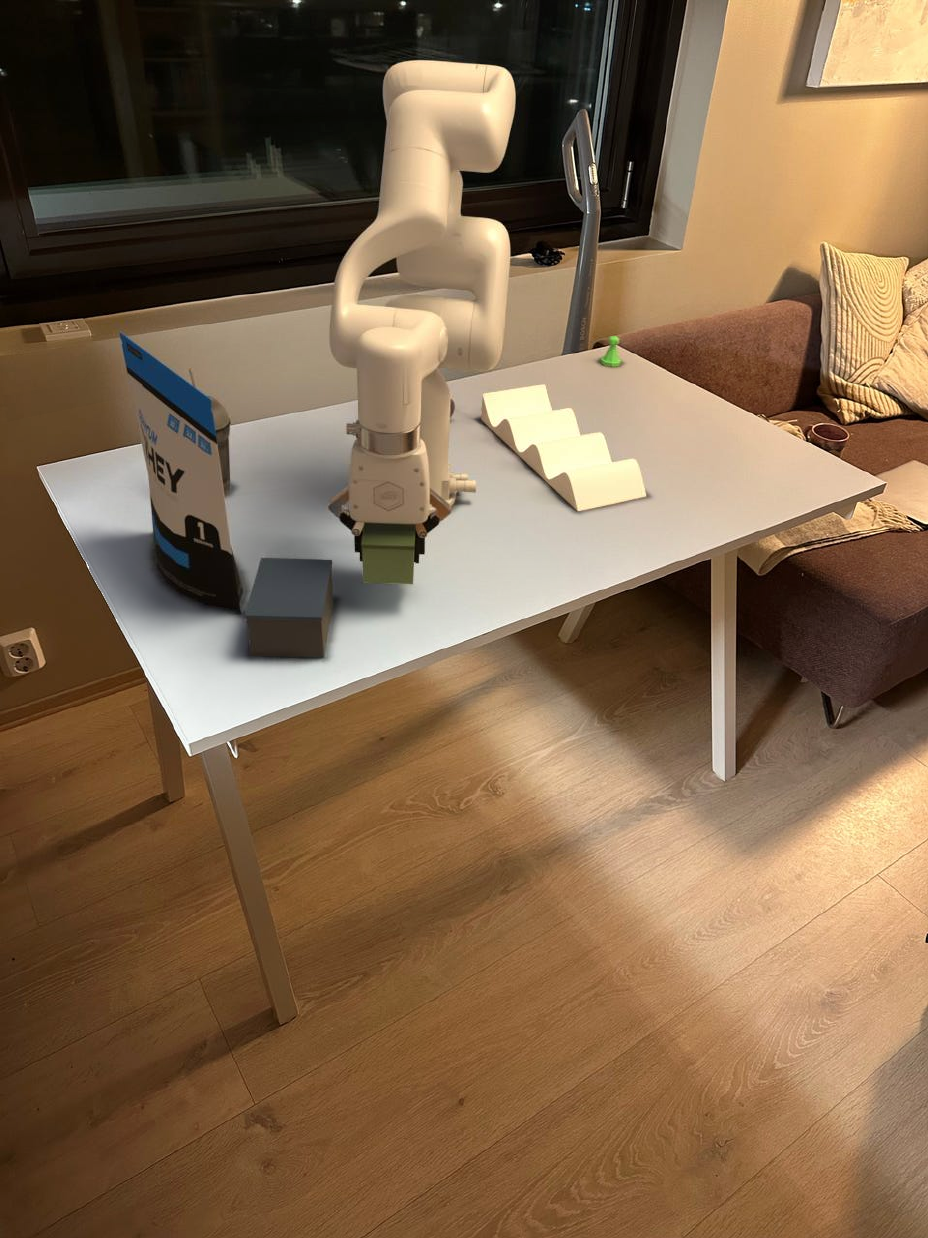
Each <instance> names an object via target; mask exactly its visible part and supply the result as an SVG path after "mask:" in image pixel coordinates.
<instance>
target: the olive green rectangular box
mask: <svg viewBox="0 0 928 1238" xmlns="http://www.w3.org/2000/svg"><path fill="white" fill-rule="evenodd" d="M361 548H362V562H361V563H362V583H363V584H389V585H390V584H391V585H393V584H394V585H414V575H415V574H414V572H415V562H414V548H415V528H414V526H413V524H384V523H366V524H365V526H364V528H363V535H362V542H361Z"/></svg>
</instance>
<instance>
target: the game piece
mask: <svg viewBox="0 0 928 1238" xmlns="http://www.w3.org/2000/svg"><path fill="white" fill-rule="evenodd" d="M619 343H620V338H619V337H618V336H616V335H611V336H609V338H608V344H609V347H608V349H607V351H606V353H605V354H604V355H603V356H602V357H601V358H600V363H601V364H602V365H603V366H606V367H611V368H614V367H619V366H620V365H621V363H622V359H620V358H619V353H618V350H617V345H619Z"/></svg>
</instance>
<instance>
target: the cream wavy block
mask: <svg viewBox="0 0 928 1238" xmlns="http://www.w3.org/2000/svg"><path fill="white" fill-rule="evenodd" d="M481 401H482V402H481V403H482V404H481V418H480V420H481V421H482V422H483V423H484V424H485V425H486V426H487V427H488V428H489V429H490V430H491V431H492V432H493V433H494V434H496V436H497V437H499V439H500V440H502V441H503V442H504V443H505V444H506V445H507V446H508V447H509V448H510V449H511V450H512V451H513V452H514V453H515V454H517V456H518V457H520V458H521V459H522V460H523V462H525V463H526V464H527V465H528V466H529V467H530V468H531V469H532V470H533V471H534V472H536V474H538V475H539V476H540V477H541V478H542V479H543V480H544V481H545V482H546V483H547V484H548V485H549V486H550V487H551V488H552V489H554V490H555V491H556V493H558V495H560V496H561V497H562V498H563V499H564V500H565V501H566V502H567V503H568V504H569V505H570V506H572V507H573V509H574V510H576V511H577V512H583V511H588V510H592V509H597V508H600V507H605V506H610V505H614V504H619V503H623V502H627V501H628V502H629V501H633V500H637V499H643V498H646V497H647V493H646V488H645V483H644V480H643V476H642V472H641V469H640V466H639V463H638V461H637V460H636V459H635V458H628V459H627V458H626V459H623V460H622V459H621V460H617V461H612V458H611V455H610V451H609V447H608V444H607V441H606V438H605V435H604V433H602V432H601V431H596V432H592V433H586V434H581V433H580V429H579V425H578V422H577V418H576V414H575V412H574V410H573V409H572V408H571V407H567V408H559V409H554V410H553V408H552V406H551V402H550V399H549V395H548V391H547V387H546V384H545V383H544V384H538V385H537V384H536V385H530V386H525V387H516V388H510V389H505V390H498V391H493V392H485V393H482V399H481Z"/></svg>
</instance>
